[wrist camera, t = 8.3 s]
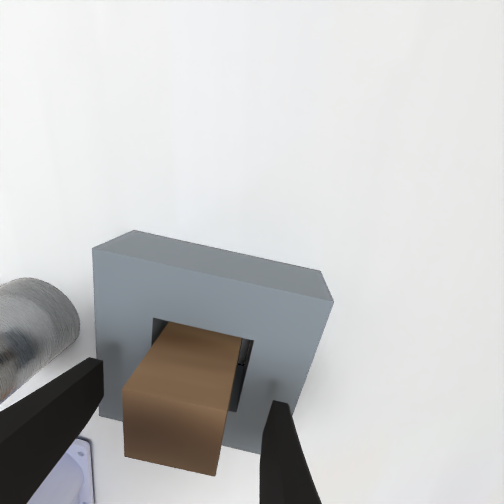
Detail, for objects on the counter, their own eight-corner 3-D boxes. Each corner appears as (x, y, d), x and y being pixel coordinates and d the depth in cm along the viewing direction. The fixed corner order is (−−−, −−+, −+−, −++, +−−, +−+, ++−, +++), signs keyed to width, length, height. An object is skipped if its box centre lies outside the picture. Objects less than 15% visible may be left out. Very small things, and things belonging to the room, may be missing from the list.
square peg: (238, 358, 15) (215, 476, 9) (182, 347, 15) (124, 456, 9) (247, 309, 13) (226, 411, 8) (185, 297, 14) (121, 389, 8)
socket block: (276, 406, 16) (276, 458, 13) (130, 371, 16) (99, 415, 13) (320, 271, 12) (333, 301, 9) (133, 230, 12) (92, 248, 10)
